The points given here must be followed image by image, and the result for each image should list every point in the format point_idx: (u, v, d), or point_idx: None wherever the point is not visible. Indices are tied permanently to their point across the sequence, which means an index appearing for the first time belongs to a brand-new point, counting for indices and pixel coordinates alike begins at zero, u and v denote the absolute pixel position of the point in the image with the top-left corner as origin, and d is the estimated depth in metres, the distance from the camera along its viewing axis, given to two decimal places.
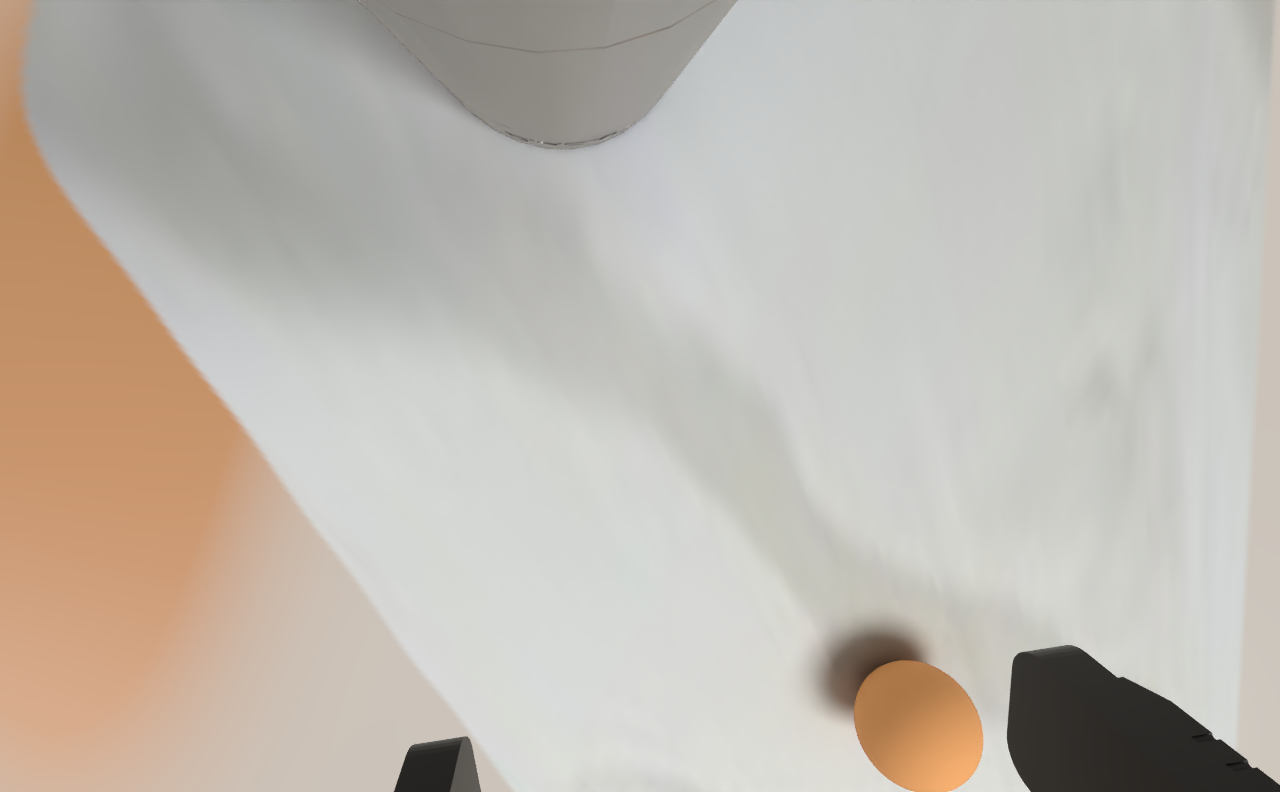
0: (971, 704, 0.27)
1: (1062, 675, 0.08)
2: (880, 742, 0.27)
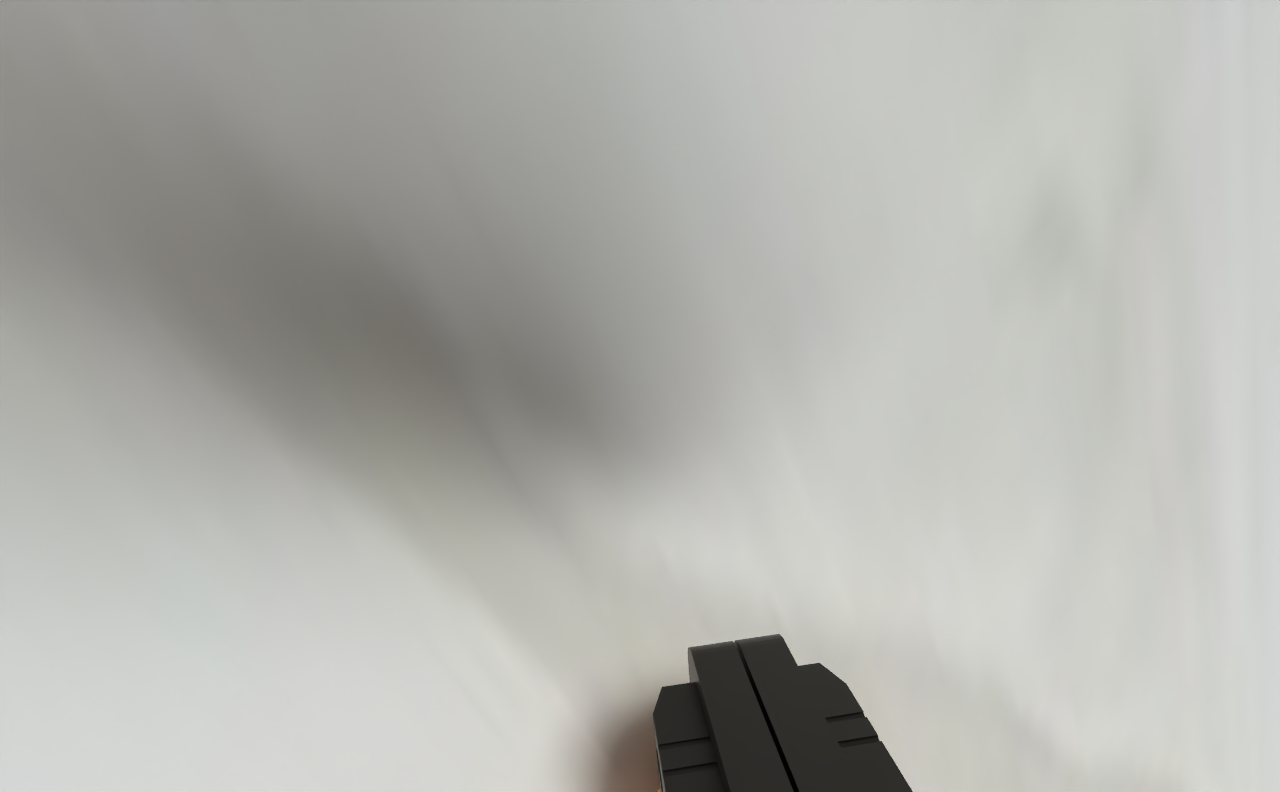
0: None
1: (751, 660, 0.09)
2: None
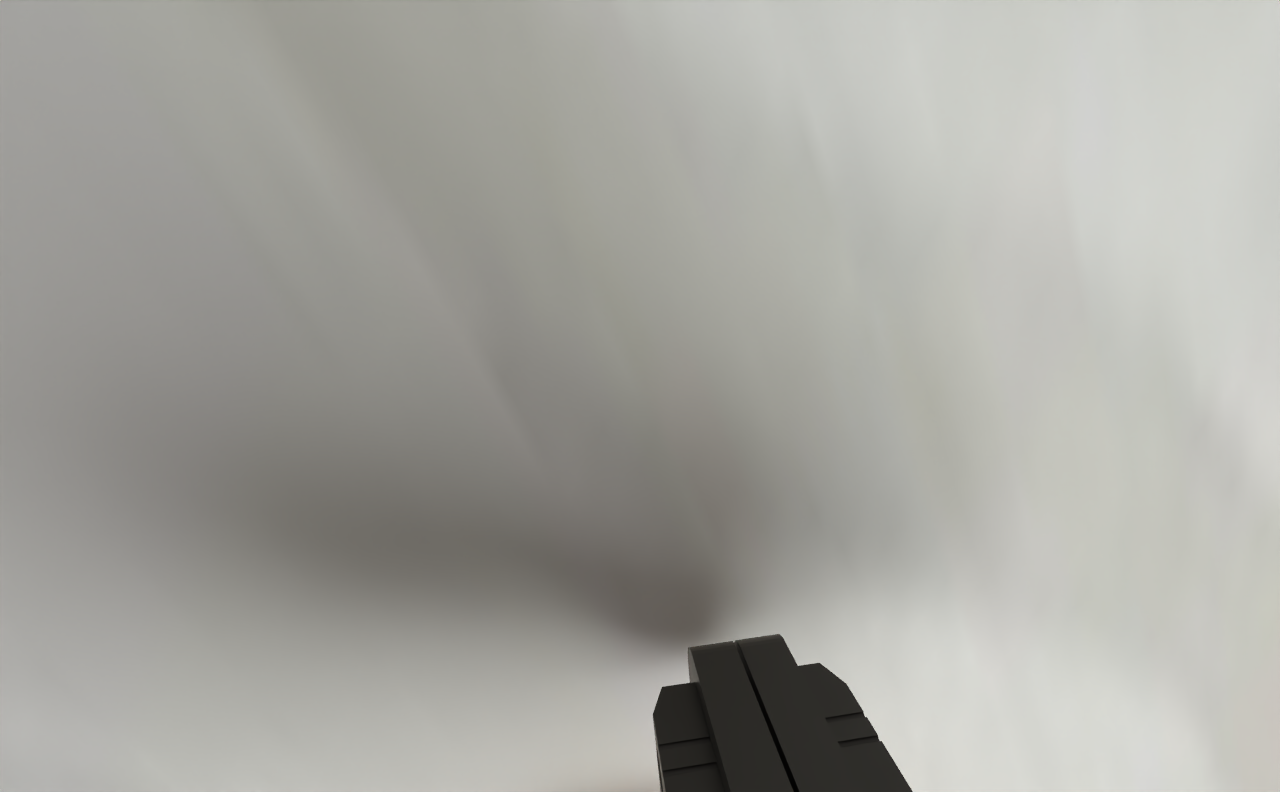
0: None
1: (751, 660, 0.09)
2: None
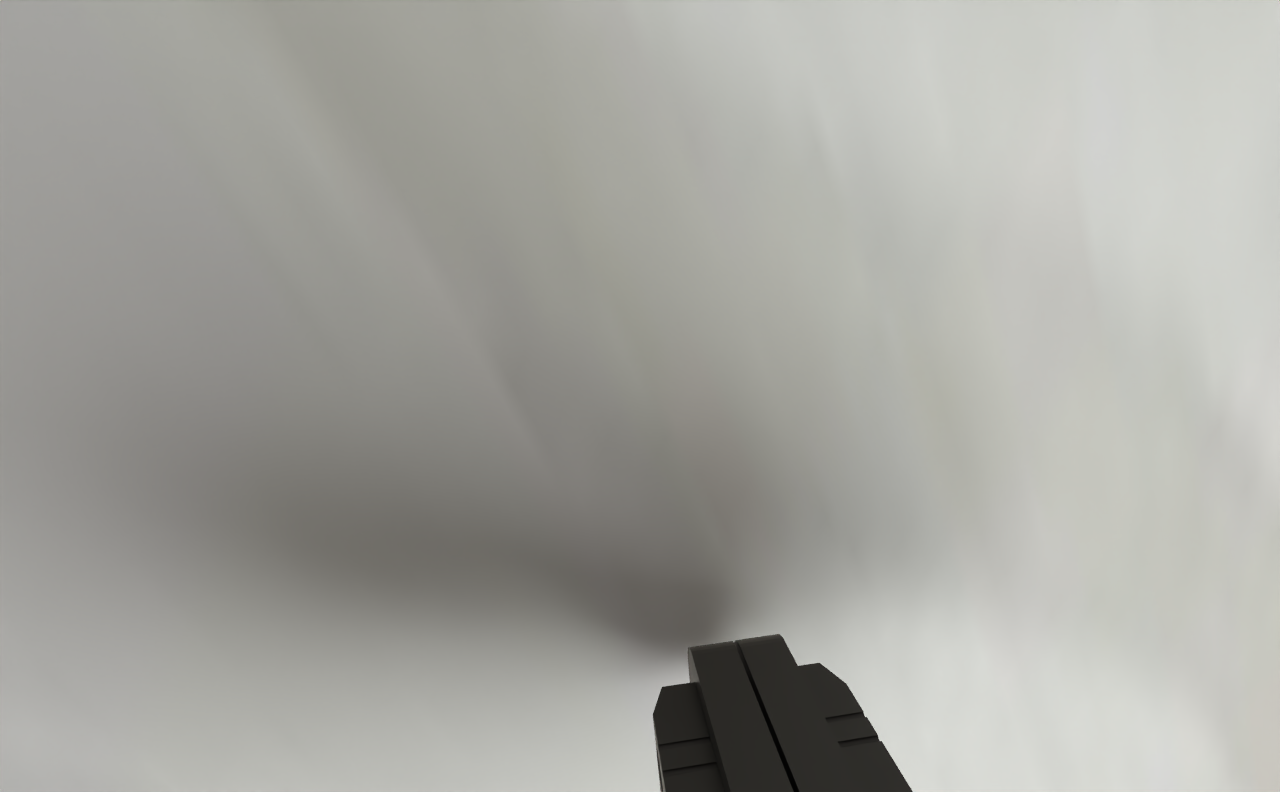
0: None
1: (751, 660, 0.09)
2: None
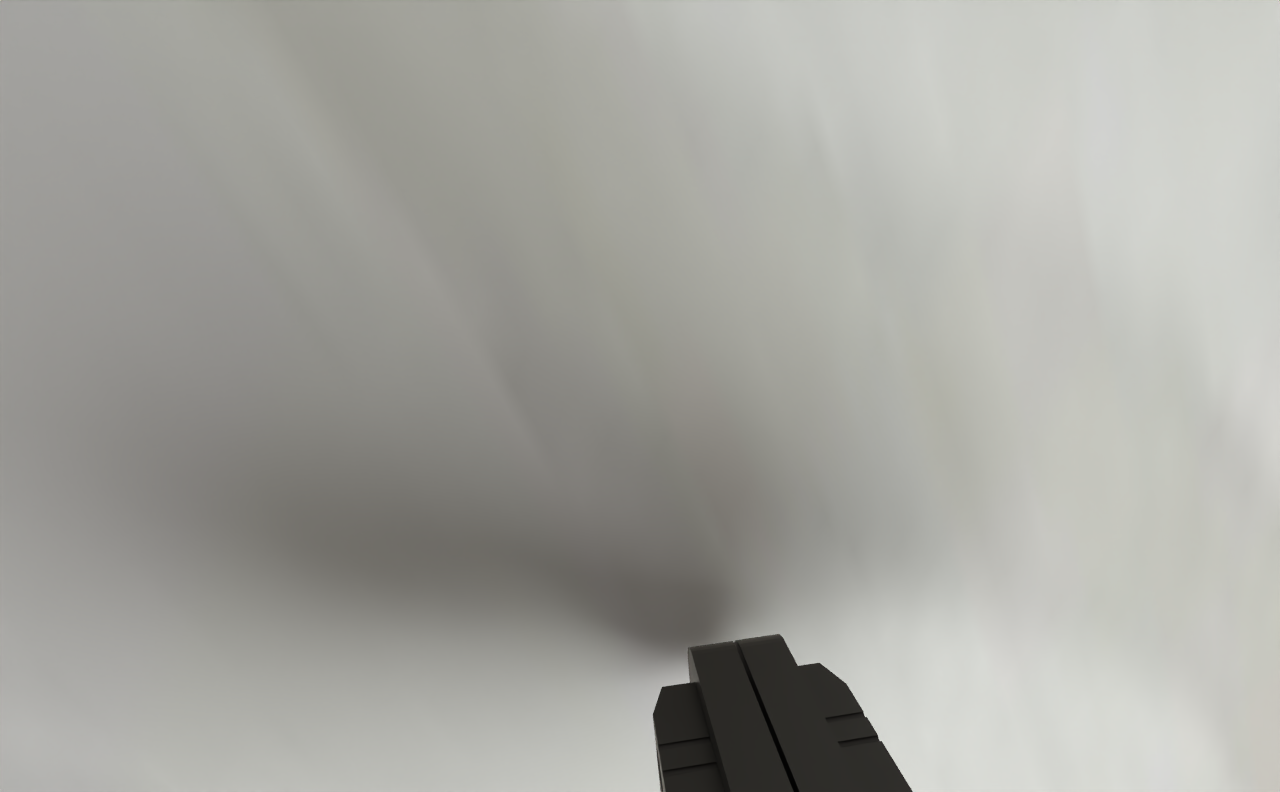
0: None
1: (751, 660, 0.09)
2: None
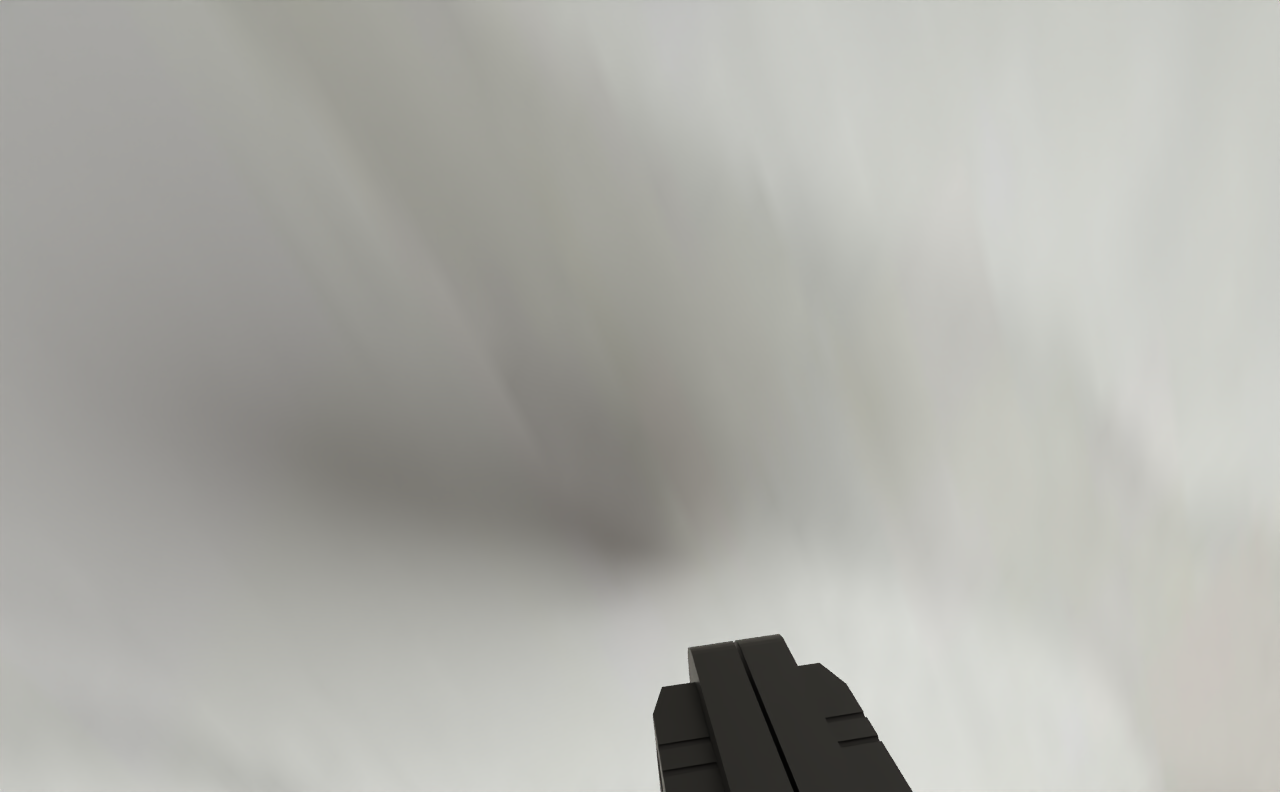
0: None
1: (751, 660, 0.09)
2: None
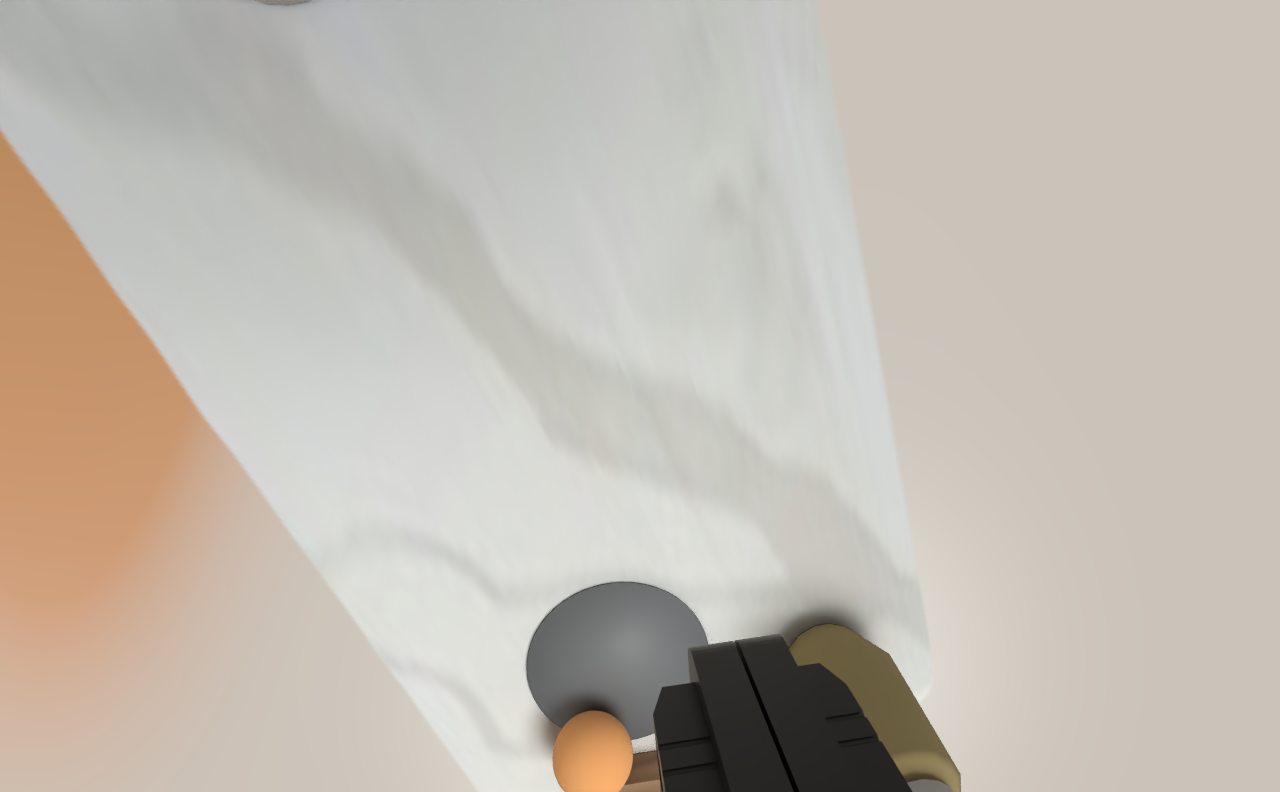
0: (621, 778, 0.40)
1: (751, 660, 0.09)
2: (557, 779, 0.41)
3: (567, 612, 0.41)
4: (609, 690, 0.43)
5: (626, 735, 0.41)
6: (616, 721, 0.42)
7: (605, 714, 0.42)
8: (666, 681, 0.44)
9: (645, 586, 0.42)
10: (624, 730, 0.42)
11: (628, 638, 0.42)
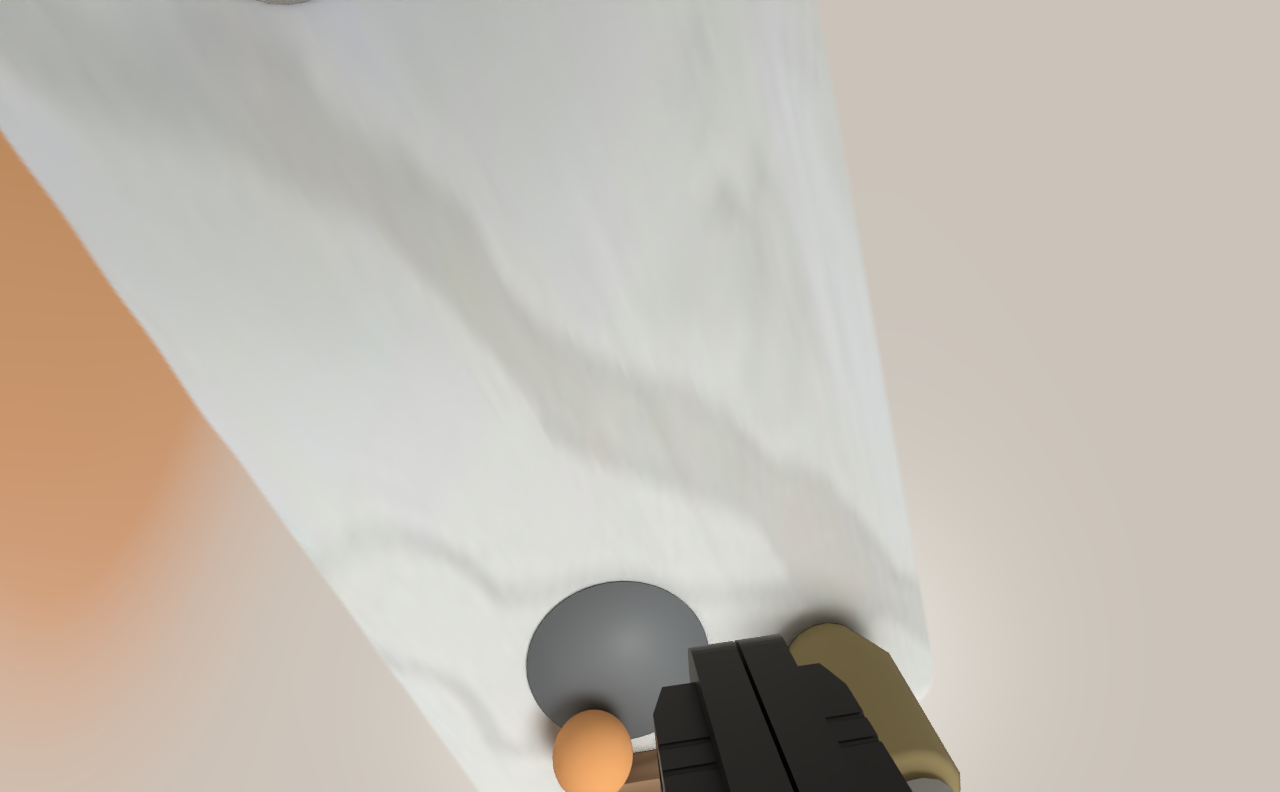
0: (621, 777, 0.40)
1: (751, 660, 0.09)
2: (557, 778, 0.41)
3: (567, 611, 0.42)
4: (609, 689, 0.43)
5: (626, 734, 0.41)
6: (616, 720, 0.42)
7: (605, 713, 0.42)
8: (666, 680, 0.44)
9: (645, 585, 0.42)
10: (624, 729, 0.42)
11: (628, 637, 0.43)
